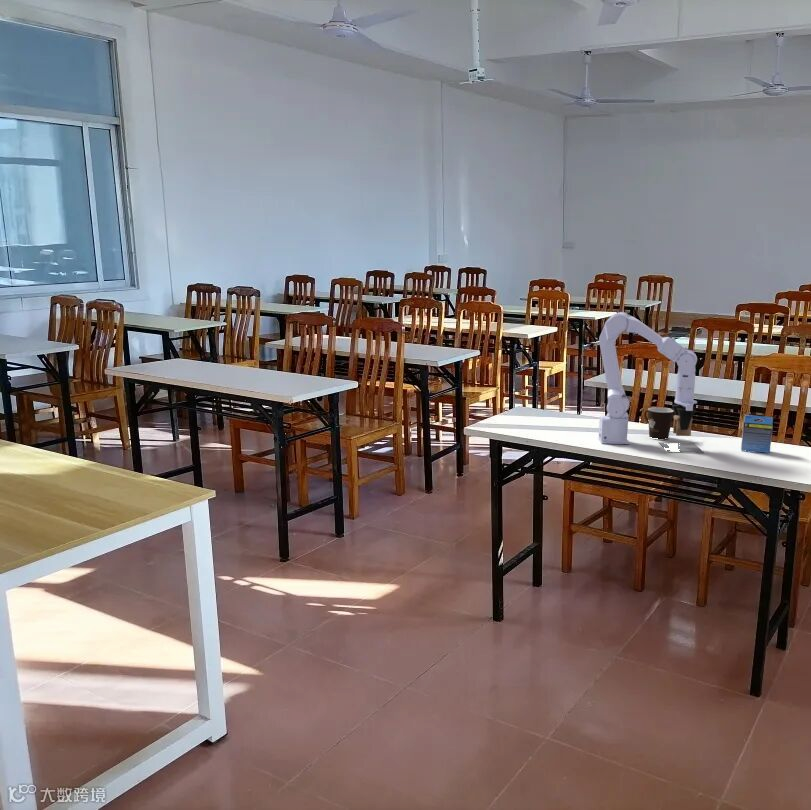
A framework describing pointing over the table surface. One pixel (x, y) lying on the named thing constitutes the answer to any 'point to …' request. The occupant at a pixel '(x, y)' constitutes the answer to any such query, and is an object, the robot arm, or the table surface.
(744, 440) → the label tape box
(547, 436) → the table surface
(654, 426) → the coffee mug
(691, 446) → the mat
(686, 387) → the robot arm
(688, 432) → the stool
